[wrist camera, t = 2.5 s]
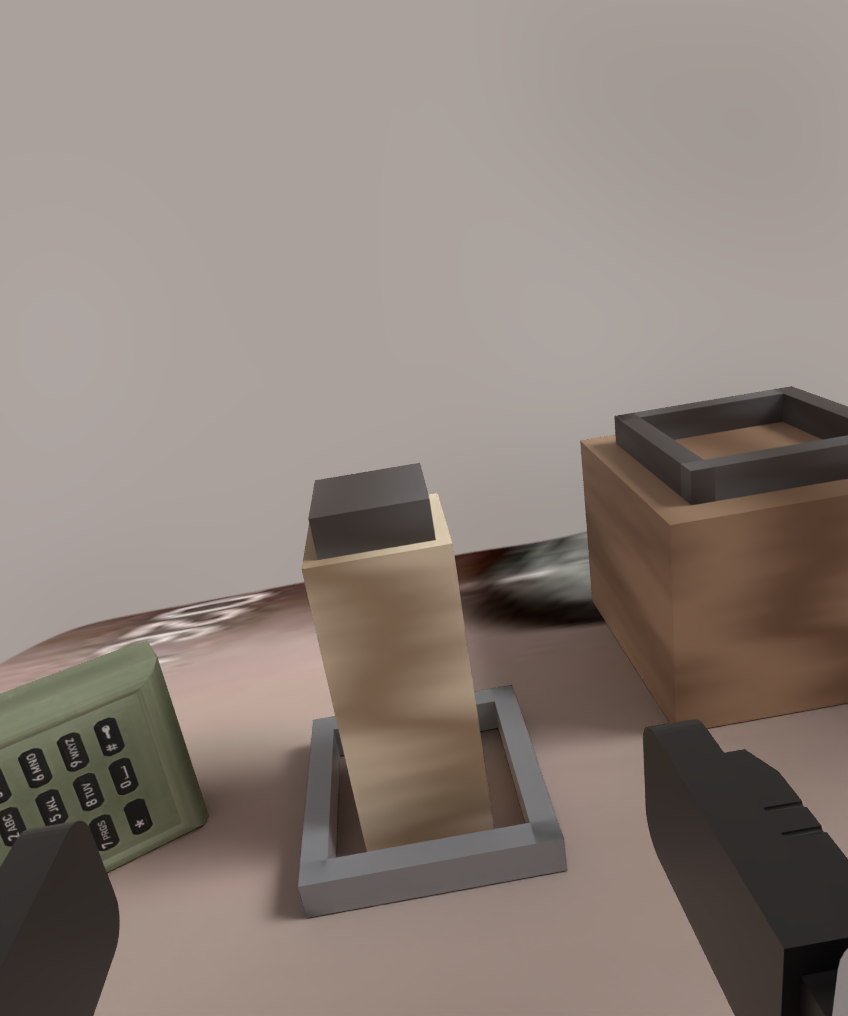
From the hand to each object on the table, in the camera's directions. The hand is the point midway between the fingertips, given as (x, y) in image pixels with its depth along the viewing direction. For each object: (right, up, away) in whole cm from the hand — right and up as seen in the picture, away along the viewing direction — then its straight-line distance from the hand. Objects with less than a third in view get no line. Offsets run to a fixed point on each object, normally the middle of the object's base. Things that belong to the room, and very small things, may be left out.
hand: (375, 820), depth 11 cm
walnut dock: (+14, -1, +20) cm, 25 cm away
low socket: (+1, -5, +14) cm, 15 cm away
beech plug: (+1, -5, +14) cm, 15 cm away
